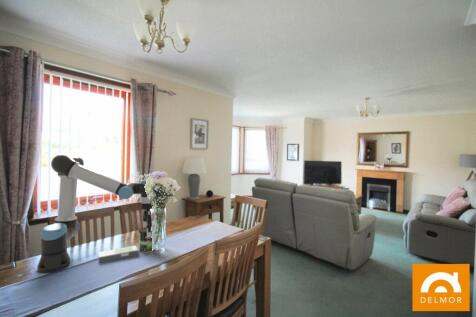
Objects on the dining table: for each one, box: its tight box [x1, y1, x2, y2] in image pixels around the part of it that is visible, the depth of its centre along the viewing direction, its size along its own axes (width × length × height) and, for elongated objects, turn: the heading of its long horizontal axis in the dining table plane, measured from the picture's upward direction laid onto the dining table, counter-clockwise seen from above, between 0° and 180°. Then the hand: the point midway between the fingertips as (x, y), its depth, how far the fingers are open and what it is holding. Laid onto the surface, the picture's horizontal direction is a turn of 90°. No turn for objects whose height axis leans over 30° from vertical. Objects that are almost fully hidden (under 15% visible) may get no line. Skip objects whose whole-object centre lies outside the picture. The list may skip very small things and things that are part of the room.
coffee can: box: [138, 227, 153, 254], centre depth 161 cm, size 10×10×14 cm
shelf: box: [98, 245, 140, 264], centre depth 152 cm, size 22×12×3 cm, turn 121°
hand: (147, 233), depth 161 cm, fingers open, 13 cm apart
